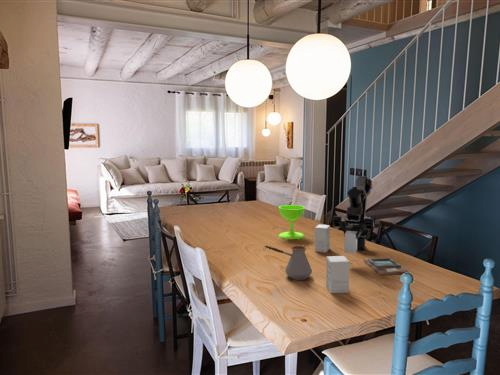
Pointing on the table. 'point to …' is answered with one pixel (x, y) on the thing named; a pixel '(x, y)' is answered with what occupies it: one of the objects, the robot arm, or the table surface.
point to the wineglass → (291, 219)
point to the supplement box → (337, 274)
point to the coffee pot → (296, 263)
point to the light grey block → (350, 242)
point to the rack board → (385, 266)
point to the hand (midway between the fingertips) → (350, 237)
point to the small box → (322, 238)
